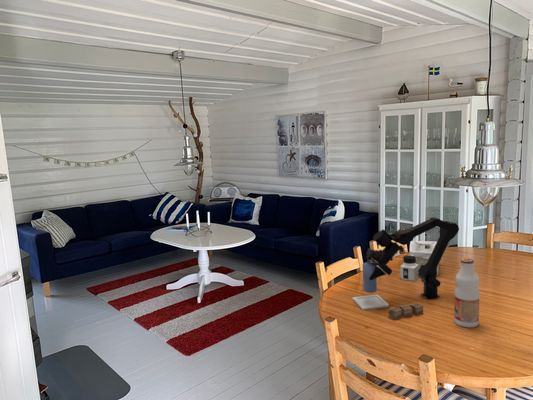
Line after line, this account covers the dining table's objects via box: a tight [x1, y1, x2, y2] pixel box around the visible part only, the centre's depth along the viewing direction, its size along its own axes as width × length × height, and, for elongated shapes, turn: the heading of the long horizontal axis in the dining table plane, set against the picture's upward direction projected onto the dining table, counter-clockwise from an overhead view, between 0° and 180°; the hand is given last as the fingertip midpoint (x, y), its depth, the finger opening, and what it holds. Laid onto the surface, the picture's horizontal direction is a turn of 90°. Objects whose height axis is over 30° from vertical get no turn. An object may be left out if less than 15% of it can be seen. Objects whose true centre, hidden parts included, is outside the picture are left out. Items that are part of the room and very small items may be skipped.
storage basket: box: [409, 240, 440, 277], centre depth 240 cm, size 24×16×15 cm
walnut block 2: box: [399, 304, 413, 319], centre depth 183 cm, size 4×4×4 cm
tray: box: [352, 294, 390, 311], centre depth 198 cm, size 13×13×1 cm
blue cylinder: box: [361, 261, 378, 294], centre depth 197 cm, size 6×6×13 cm
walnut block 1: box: [388, 306, 403, 321], centre depth 182 cm, size 4×4×4 cm
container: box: [400, 254, 419, 282], centre depth 228 cm, size 8×8×13 cm
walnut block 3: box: [409, 302, 424, 317], centre depth 184 cm, size 4×4×4 cm
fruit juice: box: [453, 257, 480, 329], centre depth 171 cm, size 9×9×28 cm
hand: (367, 277), depth 196 cm, fingers closed on blue cylinder, 6 cm apart
